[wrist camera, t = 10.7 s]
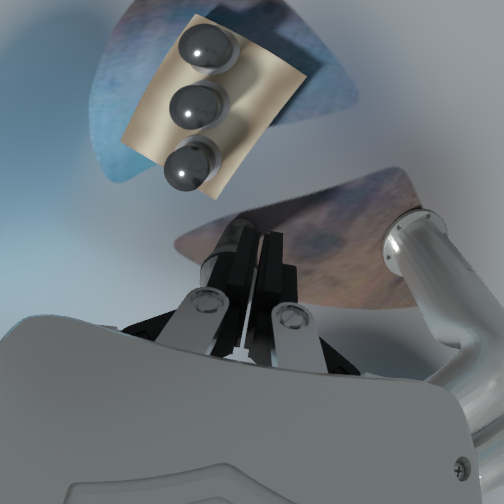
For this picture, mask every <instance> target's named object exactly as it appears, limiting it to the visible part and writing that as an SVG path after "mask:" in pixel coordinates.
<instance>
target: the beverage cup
mask: <svg viewBox="0 0 504 504" xmlns="http://www.w3.org/2000/svg"><path fill="white" fill-rule="evenodd" d="M244 226H247V227H252V228H255V227H254V225H253V224H252V223H251V222H250V221H248V220H246V219H242V218H239V219H235V220H232V221H231V222H230V223H229V224H228V226H227V227H226V229H225V231H224V233H223V234H222V236H221V238H220V240H219V242H218V243H217V245H216V247H215V249H214V251H213V252H212V253H211V254H210V255H209V257H208V258H207V259H206V260H205V261H204V263H203V264H202V266H201V271H200V286H201V287H206V286H207V283H208V281H209V278H210V275H211V273H212V270H213V268H214V265H215V263H216V260H217V257H218V255H219V253H220V252H223V253H229V254H234V255H235V253H236V250H237V247H238V243H239V240H240V237H241V234H242V230H243V227H244ZM257 270H258V260H257V257H256V263H255V268H254V274H253V280H252V285H251V291H250V296H249V301H248V304H249V303H250V302H251V300H252V297H253V291H254V285H255V280H256V275H257Z"/></svg>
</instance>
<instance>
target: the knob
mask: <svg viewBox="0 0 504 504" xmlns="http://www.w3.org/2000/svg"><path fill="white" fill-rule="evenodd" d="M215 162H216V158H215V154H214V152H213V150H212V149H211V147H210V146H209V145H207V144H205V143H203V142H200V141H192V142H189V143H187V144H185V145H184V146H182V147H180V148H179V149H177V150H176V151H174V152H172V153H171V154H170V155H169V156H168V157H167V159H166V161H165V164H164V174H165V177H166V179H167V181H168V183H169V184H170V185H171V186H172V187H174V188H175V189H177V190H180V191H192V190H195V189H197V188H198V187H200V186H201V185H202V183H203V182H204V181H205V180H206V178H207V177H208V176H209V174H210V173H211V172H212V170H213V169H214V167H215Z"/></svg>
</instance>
